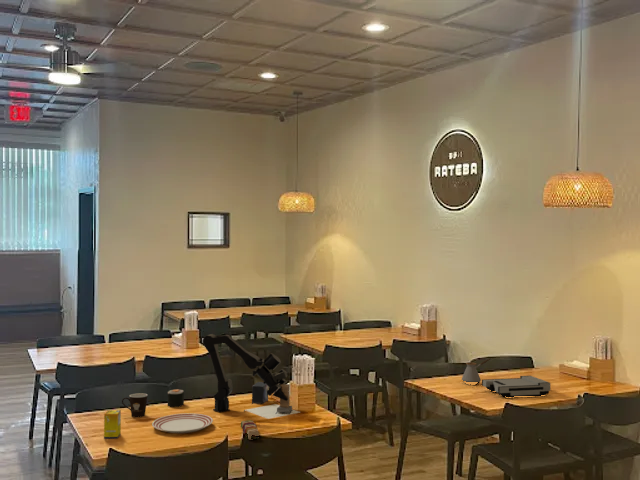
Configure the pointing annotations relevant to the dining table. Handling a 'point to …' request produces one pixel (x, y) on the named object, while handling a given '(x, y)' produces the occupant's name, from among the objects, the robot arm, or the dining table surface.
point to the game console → (518, 386)
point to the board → (269, 411)
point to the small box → (259, 393)
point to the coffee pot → (472, 372)
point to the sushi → (175, 398)
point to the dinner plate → (182, 423)
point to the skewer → (249, 428)
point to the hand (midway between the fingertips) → (288, 399)
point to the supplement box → (112, 424)
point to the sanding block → (284, 404)
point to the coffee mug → (137, 404)
